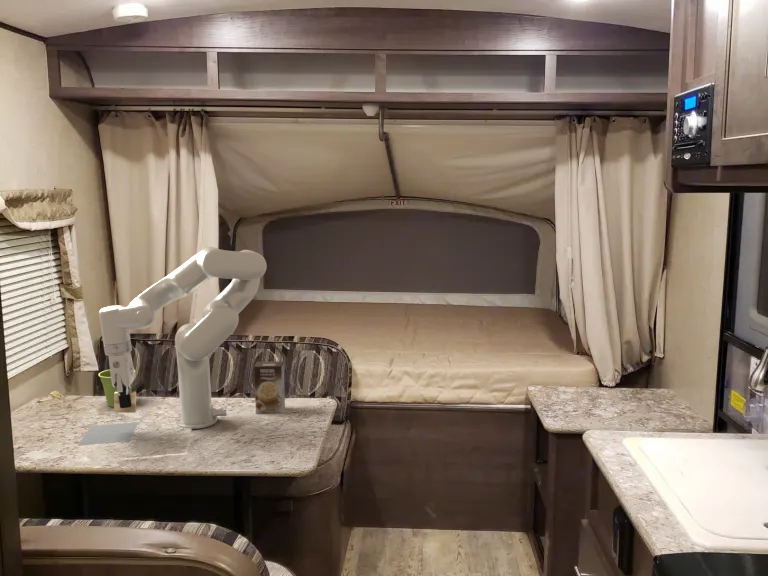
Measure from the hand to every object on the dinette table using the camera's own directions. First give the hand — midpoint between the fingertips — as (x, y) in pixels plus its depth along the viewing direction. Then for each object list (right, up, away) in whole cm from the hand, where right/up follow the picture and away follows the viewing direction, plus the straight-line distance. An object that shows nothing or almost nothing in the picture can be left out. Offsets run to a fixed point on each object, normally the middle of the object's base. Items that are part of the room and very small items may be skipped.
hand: (126, 406), depth 198 cm
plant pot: (-14, -5, +29) cm, 32 cm away
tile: (-1, -2, 0) cm, 2 cm away
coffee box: (+40, -5, +19) cm, 45 cm away
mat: (-5, -9, 0) cm, 10 cm away
